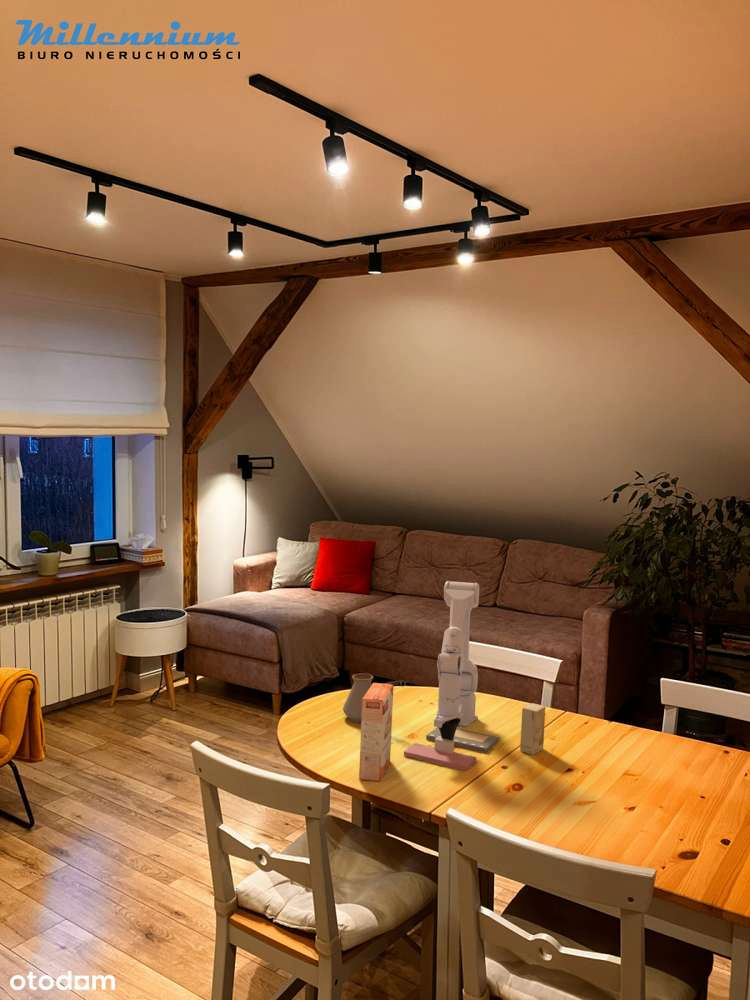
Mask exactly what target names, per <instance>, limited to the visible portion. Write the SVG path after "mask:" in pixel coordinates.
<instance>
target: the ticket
mask: <svg viewBox="0 0 750 1000" xmlns="http://www.w3.org/2000/svg"><path fill="white" fill-rule="evenodd" d="M437 737H438V738H442V737H441V733H440V730H439V728H438V727H435V729H433V730H431V731H430V732H429V733H428V734H426V737H425V739H426V740H427V741H432V742H435V739H436V738H437ZM453 741H454V747H458V748H462V749H468V750H471V751H475V752H480V753H485V754H487V753H488V752H489V751H490V750H491V749H493V748H494V746H496V745H497V744H498V743H499V742H500V736H496V735H491V734H487V733H481V732H477V731H472V730H467V729H464V728H459V727H457V729H456V732H455V735H454V739H453Z"/></svg>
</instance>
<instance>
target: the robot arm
mask: <svg viewBox="0 0 750 1000" xmlns="http://www.w3.org/2000/svg"><path fill="white" fill-rule="evenodd" d="M443 600H444V601H445V605H446V606H447V607H449V608H450V609H449V610H450V611H449V625H448V626H449V627H448V628H446V629H445V630H444V633H443V640H442V644H441V645H442V646H441V651H440V652H441V653H439V654H438V656H437V664H436V665H437V666H436V667H437V679H438V701H437V702H438V703H437V704H438V705H437V711H436V715H435V717H434V719H433V727H434V728H437V727H438V728H439V730H440V733H441V737H442V738H443V739H447V740H452V741H453V739H454V735H455V732H456V729H457V728H459V726H461V727H468V726H469V725H470V724H472V723H473V722H474V721H475V720H477V719H478V718H479V716H478V715H476V703H477V702H476V701H477V700H476V698H477V697H476V694H475V692H476V691H477V688H478V683H479V682H478V675H479V674H478V667H477V664H475V663H473V662H472V661H471V660H470V657H469V655H470V654H469V653H470V628H471V627H470V626H471V624H470V623H471V612H472V609H474V608H478V607H479V601H480V584H479V583H478V582H464V581H463V582H462V581H451V580H446V581H445V583H444V586H443Z"/></svg>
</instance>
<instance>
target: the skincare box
mask: <svg viewBox="0 0 750 1000" xmlns="http://www.w3.org/2000/svg"><path fill="white" fill-rule="evenodd" d="M545 721H546V706H544V705H541V704H538V703H534V702H532V703H529V704H528V705H526V706H524V707H522V709H521V726H520V727H521V728H520V729H521V730H520V744H519V745H520V747H519V751H520V752H523V753H526V754H529V755H536V754H538V753H539V752H541V751H543V749H544V741H545V724H546V723H545ZM540 750H541V751H540Z"/></svg>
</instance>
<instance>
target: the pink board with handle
mask: <svg viewBox="0 0 750 1000" xmlns="http://www.w3.org/2000/svg"><path fill="white" fill-rule="evenodd" d="M403 756H404V757H408V758H411V759H416V760H420V761H424V762H428V763H432V764H435V765H441V766H444V767H445V766H446V767H449V768H452V769H457V770H461V771H465V772H467V771H468V770H469V769H470V768H471V767H472V766H473V765H474V764H475V763H476V762H477V756H475V755H474V756H472V755H469V754H465V753H461V752H460V753H459V752H455V746H454V741H452V740H447V739H443V738H438V737H437V738H436V739H435V741H434V746H430V745H425V744H420V743H418V742H415V743H413V744H412V745H410V746H409V747H408V748H407V749H404V751H403Z"/></svg>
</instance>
